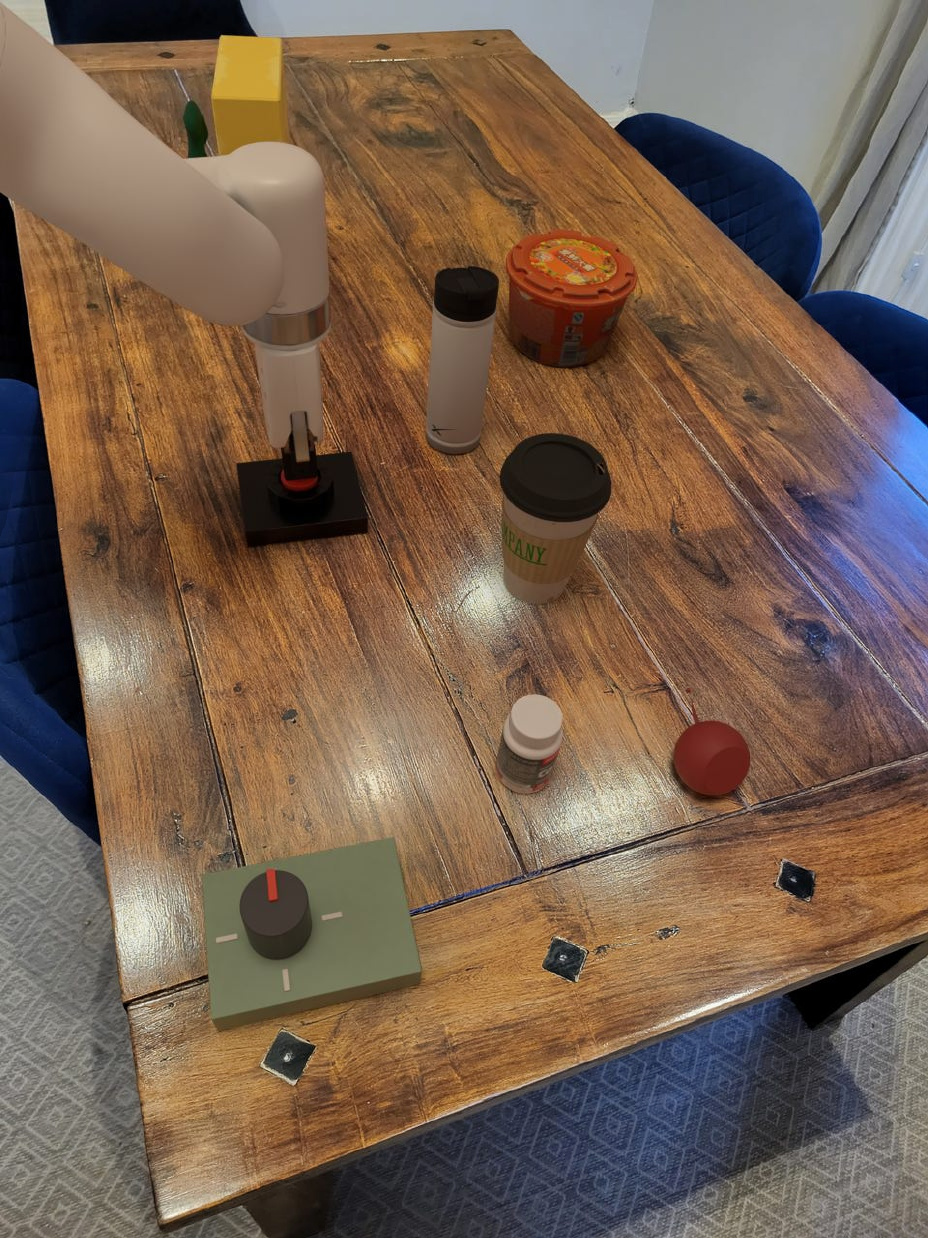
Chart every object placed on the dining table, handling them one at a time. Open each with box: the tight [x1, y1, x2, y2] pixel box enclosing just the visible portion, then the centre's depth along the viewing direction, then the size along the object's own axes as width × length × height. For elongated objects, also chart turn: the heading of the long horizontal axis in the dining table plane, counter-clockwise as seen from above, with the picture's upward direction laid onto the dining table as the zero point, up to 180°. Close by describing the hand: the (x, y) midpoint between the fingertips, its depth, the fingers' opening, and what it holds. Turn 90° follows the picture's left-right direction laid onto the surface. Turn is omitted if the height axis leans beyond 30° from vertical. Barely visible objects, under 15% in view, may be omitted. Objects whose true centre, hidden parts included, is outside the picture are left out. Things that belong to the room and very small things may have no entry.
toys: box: [182, 34, 291, 158], centre depth 108 cm, size 18×12×24 cm
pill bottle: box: [495, 693, 564, 795], centre depth 70 cm, size 5×5×8 cm
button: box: [281, 470, 318, 492], centre depth 88 cm, size 4×4×2 cm
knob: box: [239, 869, 312, 960], centre depth 59 cm, size 4×4×5 cm
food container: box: [505, 229, 639, 368], centre depth 108 cm, size 16×16×11 cm
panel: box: [201, 836, 423, 1032], centre depth 62 cm, size 14×10×3 cm
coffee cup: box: [499, 432, 613, 605], centre depth 81 cm, size 10×10×15 cm
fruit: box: [673, 687, 751, 796], centre depth 73 cm, size 6×6×8 cm
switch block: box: [235, 451, 369, 548], centre depth 89 cm, size 12×10×4 cm
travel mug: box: [424, 265, 500, 455], centre depth 91 cm, size 6×7×20 cm
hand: (300, 473), depth 87 cm, fingers closed
